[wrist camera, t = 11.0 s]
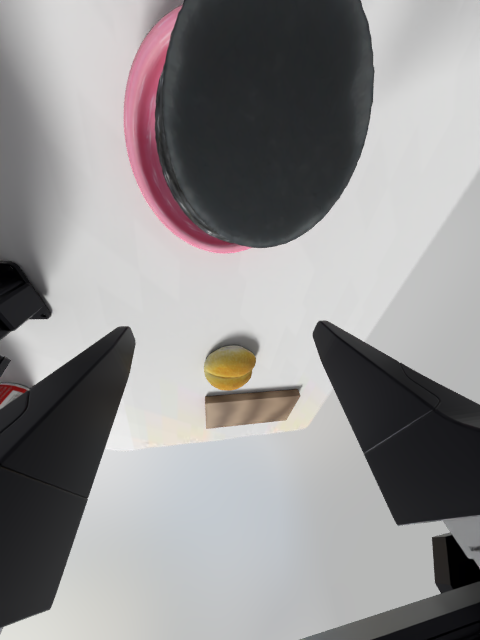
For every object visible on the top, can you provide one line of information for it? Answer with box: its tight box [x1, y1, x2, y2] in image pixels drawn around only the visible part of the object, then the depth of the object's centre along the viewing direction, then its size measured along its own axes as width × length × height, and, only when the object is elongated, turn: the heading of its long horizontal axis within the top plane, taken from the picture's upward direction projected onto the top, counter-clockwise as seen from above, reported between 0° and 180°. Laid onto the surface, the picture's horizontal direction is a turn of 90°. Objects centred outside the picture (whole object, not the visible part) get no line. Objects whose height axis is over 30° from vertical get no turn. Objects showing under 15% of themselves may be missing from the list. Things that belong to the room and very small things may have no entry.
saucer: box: [124, 5, 252, 253], centre depth 14 cm, size 12×12×3 cm
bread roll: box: [204, 345, 256, 390], centre depth 30 cm, size 8×9×4 cm
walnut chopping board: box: [205, 389, 300, 429], centre depth 42 cm, size 20×12×2 cm, turn 84°
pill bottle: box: [155, 0, 374, 248], centre depth 8 cm, size 6×6×11 cm
